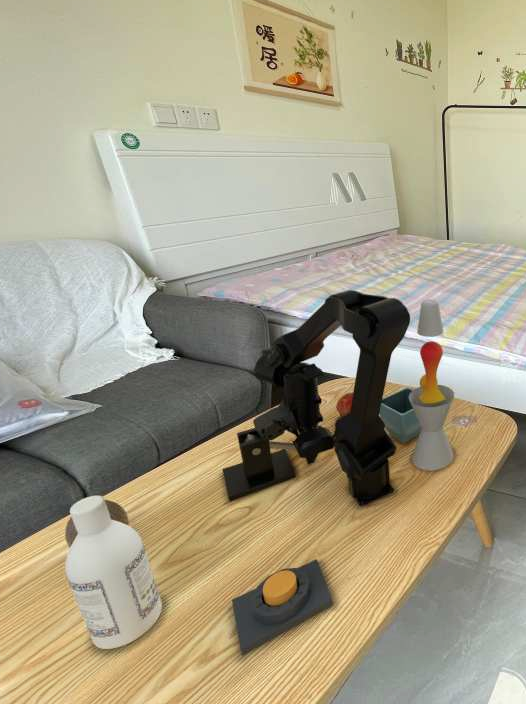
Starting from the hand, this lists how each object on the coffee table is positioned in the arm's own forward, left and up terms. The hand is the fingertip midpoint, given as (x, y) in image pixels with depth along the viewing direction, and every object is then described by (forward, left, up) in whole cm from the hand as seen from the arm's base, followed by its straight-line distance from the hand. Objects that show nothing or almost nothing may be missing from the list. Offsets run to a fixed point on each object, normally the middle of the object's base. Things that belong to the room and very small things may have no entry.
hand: (308, 459), depth 90 cm
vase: (+31, +4, 0) cm, 31 cm away
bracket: (+9, 0, 0) cm, 9 cm away
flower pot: (-20, +3, 0) cm, 20 cm away
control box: (+11, +31, 0) cm, 33 cm away
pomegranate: (-12, -9, 0) cm, 15 cm away
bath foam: (+27, +22, 0) cm, 35 cm away
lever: (+5, 0, +4) cm, 6 cm away
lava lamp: (-21, +14, 0) cm, 25 cm away
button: (+11, +31, +3) cm, 33 cm away
